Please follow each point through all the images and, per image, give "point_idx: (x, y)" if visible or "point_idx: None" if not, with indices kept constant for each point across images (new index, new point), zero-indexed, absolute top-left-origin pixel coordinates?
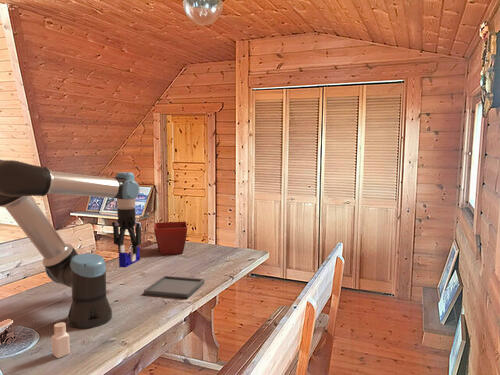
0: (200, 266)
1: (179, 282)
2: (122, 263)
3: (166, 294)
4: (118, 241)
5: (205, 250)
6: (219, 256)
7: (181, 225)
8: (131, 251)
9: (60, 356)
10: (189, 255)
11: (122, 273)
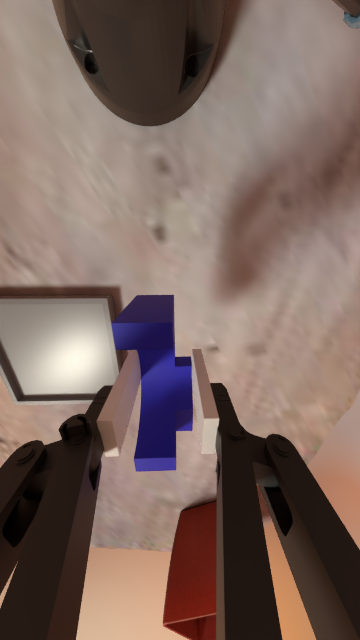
0: (102, 470)
1: (69, 380)
2: (151, 300)
3: (38, 297)
4: (248, 471)
5: (147, 530)
6: (101, 514)
7: (206, 621)
8: (116, 390)
9: None
10: (162, 508)
11: (248, 407)
